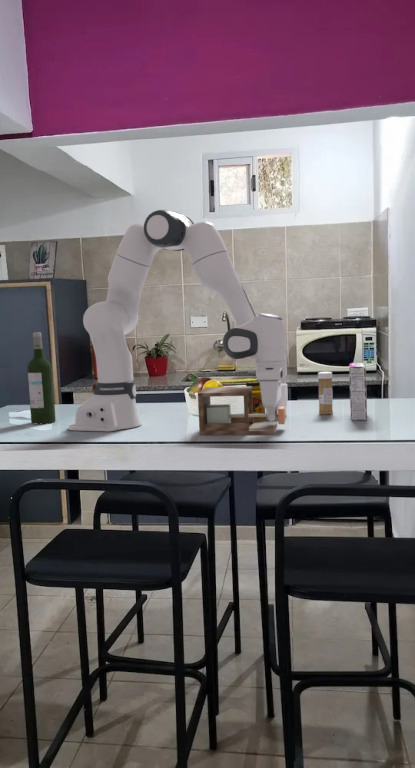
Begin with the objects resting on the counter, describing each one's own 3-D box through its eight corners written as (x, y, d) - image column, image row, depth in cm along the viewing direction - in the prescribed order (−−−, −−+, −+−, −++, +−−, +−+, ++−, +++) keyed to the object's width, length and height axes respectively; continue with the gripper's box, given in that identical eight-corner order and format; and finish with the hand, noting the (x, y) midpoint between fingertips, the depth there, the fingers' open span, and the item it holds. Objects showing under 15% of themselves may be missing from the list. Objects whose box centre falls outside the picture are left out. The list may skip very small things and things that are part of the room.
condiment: (249, 422, 216) (247, 383, 215) (239, 418, 224) (238, 381, 223) (271, 420, 218) (269, 381, 217) (261, 416, 226) (259, 379, 225)
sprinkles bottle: (317, 412, 227) (316, 371, 225) (331, 412, 227) (330, 371, 226) (321, 415, 222) (319, 373, 221) (335, 414, 223) (333, 372, 221)
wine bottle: (58, 419, 237) (52, 331, 233) (51, 424, 229) (44, 332, 225) (36, 420, 238) (29, 332, 234) (28, 424, 230) (20, 333, 226)
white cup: (261, 416, 224) (260, 386, 223) (266, 412, 232) (265, 383, 231) (285, 417, 222) (284, 385, 221) (290, 412, 229) (289, 382, 228)
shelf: (199, 434, 199) (197, 393, 197) (207, 426, 211) (205, 387, 210) (273, 434, 195) (271, 391, 194) (277, 425, 207) (275, 385, 206)
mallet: (207, 428, 202) (206, 407, 201) (211, 424, 207) (210, 404, 207) (284, 427, 198) (283, 406, 197) (285, 423, 203) (285, 403, 203)
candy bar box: (350, 414, 221) (349, 363, 219) (366, 414, 220) (365, 362, 218) (350, 420, 210) (349, 366, 208) (367, 420, 209) (366, 366, 207)
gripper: (264, 367, 210) (265, 412, 212) (256, 374, 190) (258, 424, 192) (285, 366, 209) (286, 412, 210) (279, 374, 189) (281, 424, 190)
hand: (273, 418), depth 201 cm, fingers open, 6 cm apart
